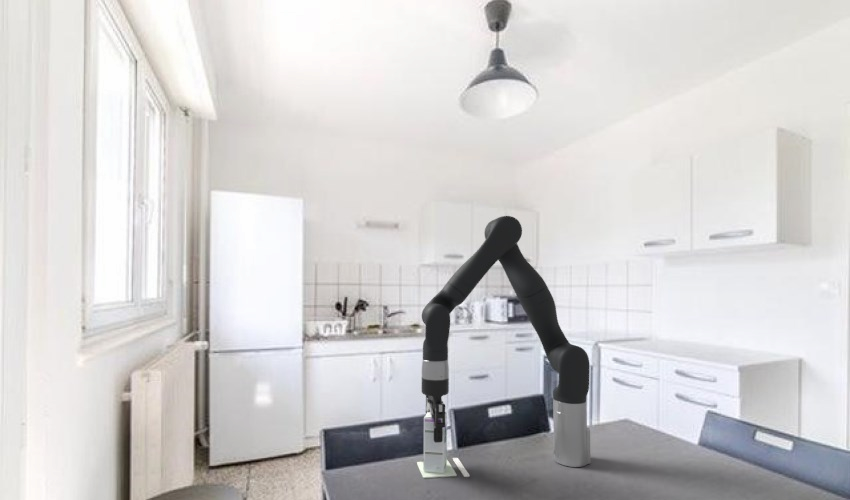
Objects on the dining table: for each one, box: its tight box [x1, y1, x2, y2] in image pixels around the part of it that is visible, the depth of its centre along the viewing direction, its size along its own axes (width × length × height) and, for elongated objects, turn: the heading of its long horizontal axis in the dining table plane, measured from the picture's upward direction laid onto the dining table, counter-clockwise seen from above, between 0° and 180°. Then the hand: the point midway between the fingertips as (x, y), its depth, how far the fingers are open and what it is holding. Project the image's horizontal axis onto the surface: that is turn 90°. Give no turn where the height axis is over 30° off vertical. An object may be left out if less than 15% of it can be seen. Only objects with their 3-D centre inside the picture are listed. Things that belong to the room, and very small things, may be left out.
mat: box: [416, 459, 457, 479], centre depth 119 cm, size 9×10×1 cm
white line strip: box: [452, 457, 470, 478], centre depth 121 cm, size 2×12×1 cm, turn 11°
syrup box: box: [422, 411, 448, 473], centre depth 120 cm, size 6×6×14 cm
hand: (434, 436), depth 120 cm, fingers open, 7 cm apart
